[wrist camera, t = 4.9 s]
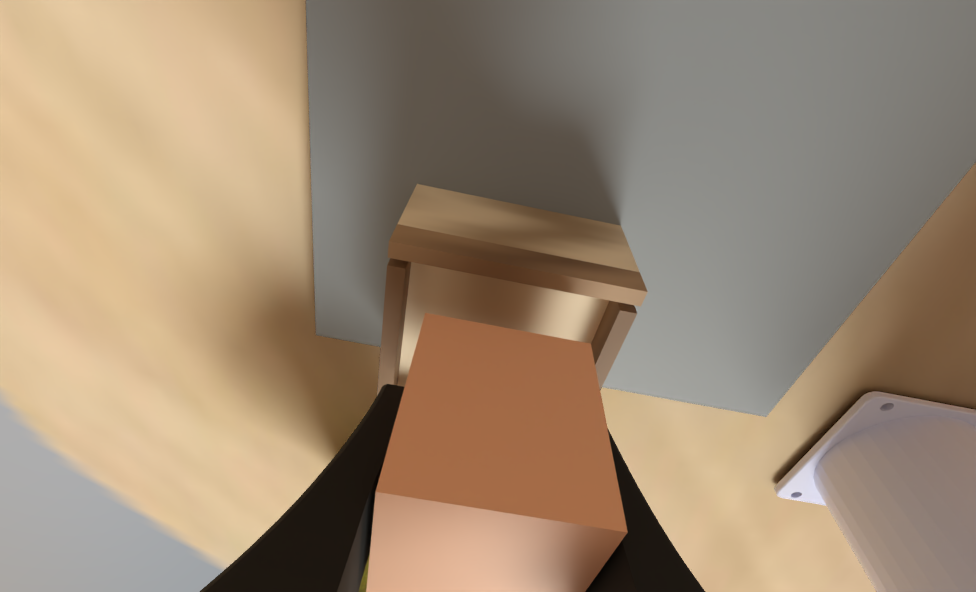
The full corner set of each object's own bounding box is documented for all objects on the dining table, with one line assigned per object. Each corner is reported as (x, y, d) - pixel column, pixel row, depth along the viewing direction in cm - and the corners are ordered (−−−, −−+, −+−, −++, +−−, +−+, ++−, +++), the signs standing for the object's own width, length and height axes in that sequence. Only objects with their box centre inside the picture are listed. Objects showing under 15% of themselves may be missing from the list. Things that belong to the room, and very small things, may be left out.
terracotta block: (591, 343, 12) (627, 532, 8) (546, 446, 15) (557, 630, 11) (425, 312, 12) (375, 491, 8) (409, 422, 14) (365, 602, 10)
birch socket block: (620, 225, 16) (647, 292, 12) (562, 371, 20) (571, 450, 16) (417, 183, 15) (388, 241, 12) (399, 341, 19) (375, 416, 16)
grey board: (1147, -102, 11) (1197, -108, 10) (756, 399, 21) (766, 416, 21) (313, -329, 10) (294, -357, 9) (324, 320, 20) (316, 335, 19)
